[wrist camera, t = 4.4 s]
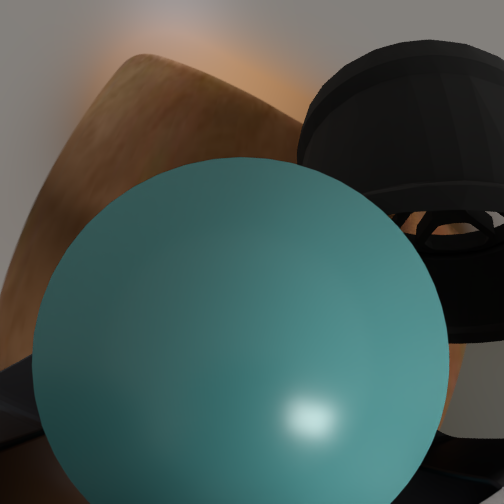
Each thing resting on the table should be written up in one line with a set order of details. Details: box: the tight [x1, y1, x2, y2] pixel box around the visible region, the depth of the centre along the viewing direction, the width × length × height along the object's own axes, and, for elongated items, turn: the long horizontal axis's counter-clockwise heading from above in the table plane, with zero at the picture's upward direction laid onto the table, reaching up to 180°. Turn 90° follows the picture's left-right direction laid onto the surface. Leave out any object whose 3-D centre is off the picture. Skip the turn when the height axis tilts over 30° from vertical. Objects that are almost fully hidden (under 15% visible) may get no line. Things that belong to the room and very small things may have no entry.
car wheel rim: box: [297, 40, 504, 344], centre depth 16 cm, size 20×10×20 cm, turn 74°
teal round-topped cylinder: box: [32, 157, 449, 504], centre depth 8 cm, size 4×4×12 cm
